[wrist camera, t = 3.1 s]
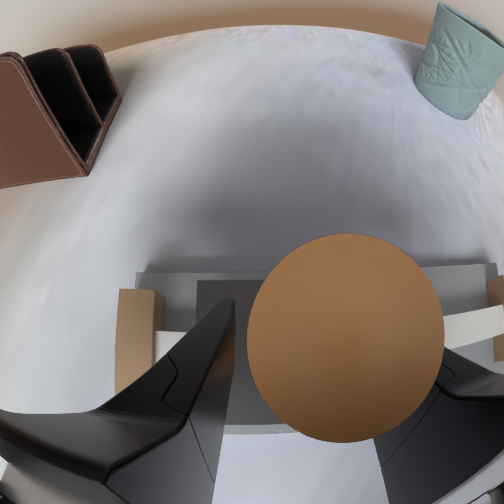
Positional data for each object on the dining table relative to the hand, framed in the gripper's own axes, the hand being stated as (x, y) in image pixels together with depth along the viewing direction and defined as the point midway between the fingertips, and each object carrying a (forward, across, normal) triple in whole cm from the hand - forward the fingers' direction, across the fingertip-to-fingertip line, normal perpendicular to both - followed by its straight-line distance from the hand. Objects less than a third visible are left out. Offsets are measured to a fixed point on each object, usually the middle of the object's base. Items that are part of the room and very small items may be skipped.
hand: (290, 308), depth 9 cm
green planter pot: (+23, -23, -13) cm, 35 cm away
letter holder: (+17, +24, -7) cm, 30 cm away
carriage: (+2, 0, +4) cm, 4 cm away
